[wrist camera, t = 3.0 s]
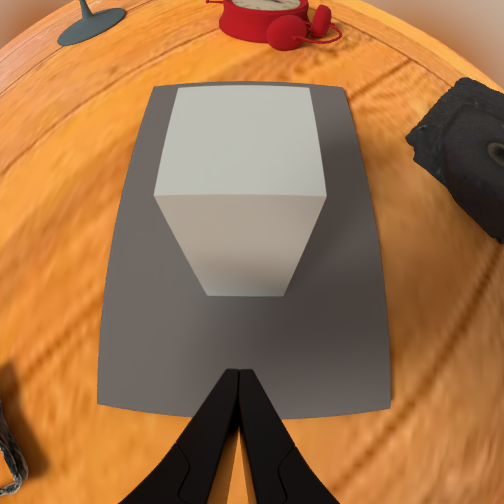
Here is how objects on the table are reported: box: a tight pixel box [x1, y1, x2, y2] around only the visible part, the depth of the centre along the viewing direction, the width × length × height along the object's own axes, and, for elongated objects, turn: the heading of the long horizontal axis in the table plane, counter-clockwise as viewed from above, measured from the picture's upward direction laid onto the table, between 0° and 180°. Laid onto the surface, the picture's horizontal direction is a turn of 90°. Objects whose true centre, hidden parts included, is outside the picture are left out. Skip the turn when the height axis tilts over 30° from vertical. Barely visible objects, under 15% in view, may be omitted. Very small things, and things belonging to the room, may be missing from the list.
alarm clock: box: [206, 0, 342, 51], centre depth 26 cm, size 10×6×15 cm
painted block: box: [154, 85, 327, 296], centre depth 12 cm, size 4×4×10 cm
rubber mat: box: [97, 81, 391, 419], centre depth 18 cm, size 24×16×1 cm, turn 0°
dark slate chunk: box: [405, 77, 504, 244], centre depth 20 cm, size 15×22×5 cm
